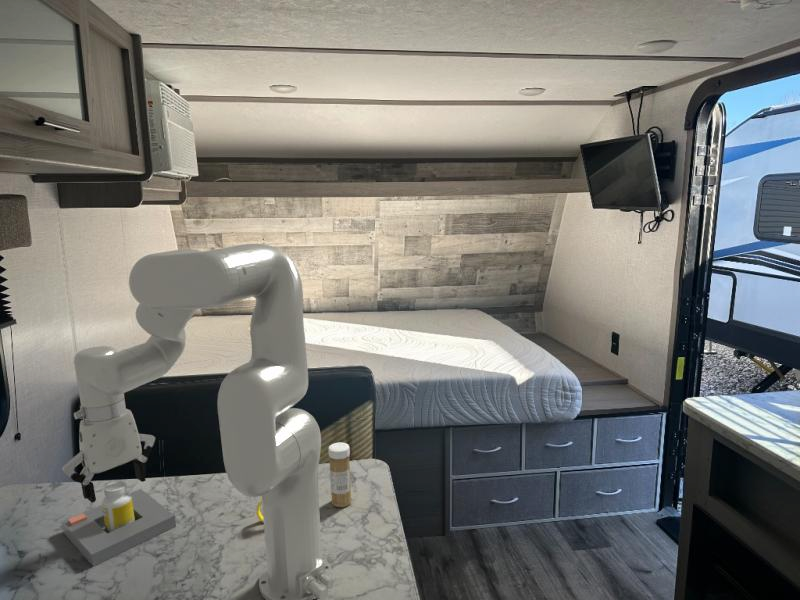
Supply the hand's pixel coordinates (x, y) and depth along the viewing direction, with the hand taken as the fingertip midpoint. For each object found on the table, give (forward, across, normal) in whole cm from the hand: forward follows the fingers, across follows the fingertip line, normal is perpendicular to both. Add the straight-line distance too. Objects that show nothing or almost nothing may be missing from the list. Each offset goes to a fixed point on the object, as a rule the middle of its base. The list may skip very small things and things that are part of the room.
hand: (116, 489), depth 110 cm
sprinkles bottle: (+10, +36, -27) cm, 46 cm away
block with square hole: (+9, 0, +1) cm, 9 cm away
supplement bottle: (+9, 0, +1) cm, 9 cm away
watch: (+10, +22, -21) cm, 32 cm away
